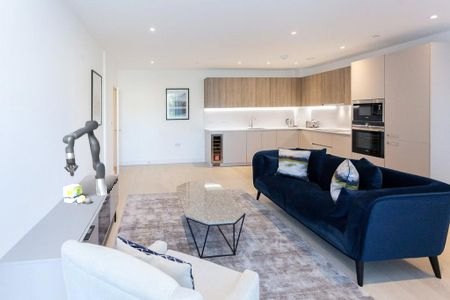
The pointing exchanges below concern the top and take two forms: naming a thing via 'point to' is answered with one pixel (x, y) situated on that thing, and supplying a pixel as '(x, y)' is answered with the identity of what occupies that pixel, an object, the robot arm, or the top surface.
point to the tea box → (72, 192)
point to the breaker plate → (79, 202)
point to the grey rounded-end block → (87, 200)
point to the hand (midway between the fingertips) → (72, 176)
